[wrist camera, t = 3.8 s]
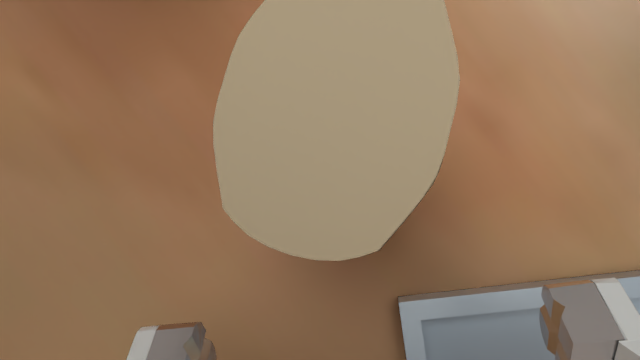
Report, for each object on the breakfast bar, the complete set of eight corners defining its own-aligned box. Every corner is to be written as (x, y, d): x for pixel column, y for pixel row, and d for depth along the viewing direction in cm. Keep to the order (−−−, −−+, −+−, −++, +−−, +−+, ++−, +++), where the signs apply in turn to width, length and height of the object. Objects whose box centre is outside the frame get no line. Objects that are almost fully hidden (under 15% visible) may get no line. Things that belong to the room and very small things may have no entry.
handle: (432, 139, 25) (488, -22, 10) (400, 267, 24) (411, 289, 10) (338, 118, 26) (264, -60, 11) (305, 241, 25) (180, 224, 11)
